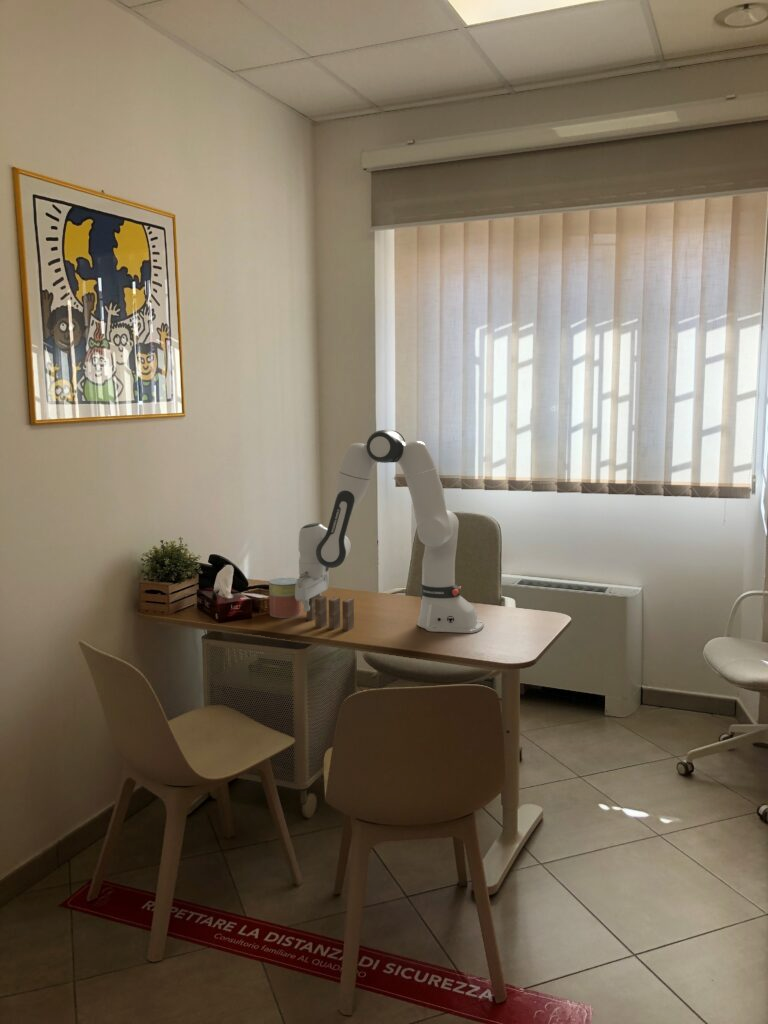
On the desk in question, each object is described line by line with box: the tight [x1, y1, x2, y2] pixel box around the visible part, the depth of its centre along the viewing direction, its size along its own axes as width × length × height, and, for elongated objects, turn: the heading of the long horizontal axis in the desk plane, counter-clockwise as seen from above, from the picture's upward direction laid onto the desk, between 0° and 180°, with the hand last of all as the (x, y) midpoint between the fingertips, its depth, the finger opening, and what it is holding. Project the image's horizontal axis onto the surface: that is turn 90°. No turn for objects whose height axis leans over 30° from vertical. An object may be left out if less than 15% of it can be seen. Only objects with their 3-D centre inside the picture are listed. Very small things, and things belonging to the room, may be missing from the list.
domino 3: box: [328, 596, 341, 630], centre depth 290 cm, size 2×5×10 cm, turn 160°
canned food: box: [268, 577, 302, 619], centre depth 308 cm, size 11×11×12 cm
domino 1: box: [306, 595, 318, 621], centre depth 301 cm, size 2×5×10 cm, turn 160°
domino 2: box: [314, 595, 328, 629], centre depth 291 cm, size 2×5×10 cm, turn 160°
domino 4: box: [341, 597, 355, 632], centre depth 288 cm, size 2×5×10 cm, turn 160°
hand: (312, 608), depth 301 cm, fingers open, 7 cm apart
